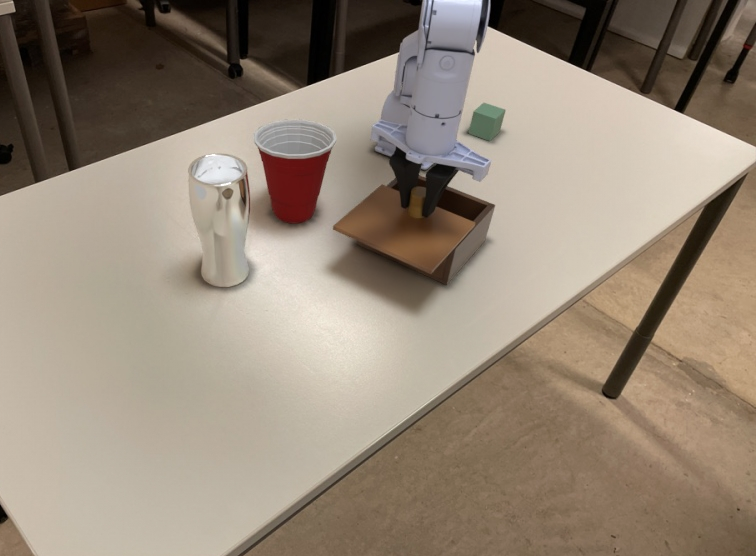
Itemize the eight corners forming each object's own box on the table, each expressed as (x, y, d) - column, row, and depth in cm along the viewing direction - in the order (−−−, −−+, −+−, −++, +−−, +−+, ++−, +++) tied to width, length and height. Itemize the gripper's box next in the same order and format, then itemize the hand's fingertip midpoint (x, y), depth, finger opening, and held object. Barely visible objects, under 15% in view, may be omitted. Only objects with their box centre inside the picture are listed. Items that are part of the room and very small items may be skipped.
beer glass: (209, 296, 81) (199, 192, 70) (189, 263, 85) (177, 160, 74) (261, 280, 83) (259, 177, 72) (239, 248, 87) (234, 146, 77)
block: (468, 133, 111) (473, 111, 108) (478, 124, 113) (483, 102, 110) (490, 141, 109) (495, 118, 106) (500, 131, 112) (506, 109, 109)
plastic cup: (320, 185, 98) (324, 110, 90) (340, 229, 91) (347, 151, 83) (248, 193, 96) (246, 117, 88) (263, 238, 89) (261, 159, 80)
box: (356, 244, 89) (360, 207, 85) (399, 204, 96) (405, 169, 91) (446, 285, 84) (455, 248, 80) (485, 240, 91) (495, 204, 86)
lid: (332, 229, 81) (334, 204, 78) (381, 187, 88) (384, 163, 85) (430, 274, 76) (436, 249, 73) (474, 226, 82) (481, 201, 80)
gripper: (361, 99, 73) (351, 202, 83) (481, 142, 68) (455, 247, 77) (393, 77, 77) (380, 177, 87) (509, 116, 72) (481, 218, 81)
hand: (417, 208), depth 82 cm, fingers closed on lid, 2 cm apart
